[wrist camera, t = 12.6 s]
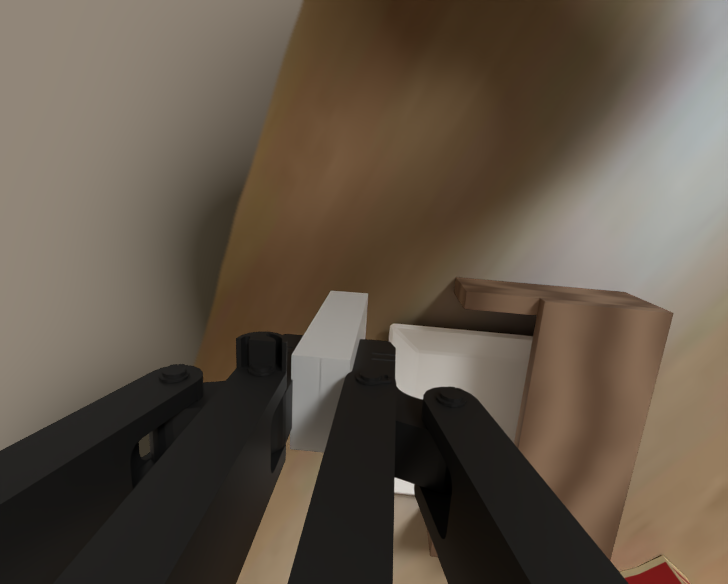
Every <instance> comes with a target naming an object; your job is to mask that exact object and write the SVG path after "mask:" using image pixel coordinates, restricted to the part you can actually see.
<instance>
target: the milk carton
mask: <svg viewBox="0 0 728 584" xmlns="http://www.w3.org/2000/svg"><path fill="white" fill-rule="evenodd" d="M620 574H621V575H622V576H623V577H624V578H625V580H626V581H627V582H628V583H629V584H690V582H689V580H688V579H687V577H686V576H685V575H684V574H683V573H681V572H680V571H679V570H678V569H677V568H676V567H675V566H674V565H673V564H672V563H671V562H670V561H669V560H668V559H667V558H665V557H664V556H663V555H662V556H660V557H658V558H656V559H654V560H651V561H649V562H647V563H645V564H643V565H641V566H639V567H637V568H633V569H629V570H625V571H621V572H620Z"/></svg>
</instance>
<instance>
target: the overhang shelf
mask: <svg viewBox="0 0 728 584" xmlns="http://www.w3.org/2000/svg"><path fill="white" fill-rule="evenodd" d="M454 293H455V295H456V296H457V298H458V300H459V301H460V303H461V304H462V306H463V308H464V309H471V310H482V311H493V312H504V313H515V314H526V315H537V317H536V323H535V328H534V334H533V340H532V345H531V351H530V356H529V362H528V368H527V373H526V379H525V384H524V390H523V395H522V401H521V407H520V412H519V418H518V423H517V429H516V434H515V440H514V444H515V445H516V447H517V448H518V449H519V450H520V452H521V453H522V454H523V455H524V456H525V458H526V459H527V460H528V461H529V463H530V464H531V465H532V466H533V467H534V469H535V470H536V471H537V472H538V473H539V475H540V476H541V477H542V478H543V480H544V481H545V482H546V483H547V484H548V486H549V487H550V488H551V489H552V491H553V492H554V493H555V494H556V495H557V497H558V498H559V499H560V500H561V502H562V503H563V504H564V505H565V506H566V508H567V509H568V510H569V511H570V513H571V514H572V515H573V516H574V517H575V519H576V520H577V521H578V522H579V524H580V525H581V526H582V527H583V528H584V530H585V531H586V532H587V533H588V535H589V536H590V537H591V538H592V539H593V541H594V542H595V543H596V544H597V545H598V547H599V548H600V549H601V550H602V552H603V553H604V554H605V555H606V556H607V558H608V559H609V560H610V559H611V555H612V551H613V547H614V544H615V540H616V536H617V532H618V528H619V524H620V520H621V516H622V512H623V508H624V504H625V501H626V497H627V493H628V489H629V485H630V481H631V477H632V473H633V469H634V465H635V461H636V457H637V454H638V450H639V446H640V442H641V438H642V434H643V430H644V426H645V422H646V418H647V414H648V411H649V407H650V403H651V399H652V395H653V391H654V387H655V383H656V379H657V375H658V371H659V368H660V364H661V360H662V356H663V352H664V348H665V344H666V340H667V336H668V332H669V328H670V325H671V321H672V317H673V313H672V312H670V311H667V310H665V309H663V308H660V307H658V306H656V305H654V304H651V303H649V302H647V301H644V300H642V299H640V298H637V297H635V296H633V295H630V294H628V293H626V292H618V291H606V290H595V289H583V288H572V287H561V286H549V285H538V284H527V283H515V282H504V281H492V280H481V279H470V278H458V277H456V280H455V288H454ZM427 532H428V529H427ZM428 541H429V550H430V556H433V557H438V555H437V553H436V550H435V547H434V545H433V542H432V540H431V537H430V534H429V532H428Z"/></svg>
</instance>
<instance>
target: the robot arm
mask: <svg viewBox="0 0 728 584" xmlns="http://www.w3.org/2000/svg"><path fill="white" fill-rule="evenodd" d="M367 306H368V293H356V292H343V291H330V293H329V295H328V296H327V298H326V299H325V301H324V303H323V304H322V306H321V308H320V309H319V311H318V313H317V314H316V316H315V317H314V319H313V321H312V322H311V324H310V326H309V327H308V329H307V331H306V332H305V334H304V335H292V334H284V335H281V334H278V333H273V332H253V333H247V334H244V335H241V336H239V337H238V338H236V358H237V368H236V369H235V371H234V372H233V373H232V374H231V375H230V376H229V378H228V379H227V380H226V381H219V382H205V383H203V372H202V371H201V370H200V369H199V368H197V367H194V366H188V365H184V364H179V365H177V364H176V365H170V366H168V367H163V368H160V369H158V370H155V371H153V372H151V373H149V374H147V375H145V376H143V377H141V378H139V379H137V380H135V381H133V382H132V383H130V384H128V385H126V386H124V387H122V388H120V389H118V390H116V391H114V392H112V393H110V394H109V395H107V396H105V397H103V398H101V399H99V400H97V401H95V402H93V403H92V404H89V405H87V406H86V407H84V408H82V409H80V410H78V411H76V412H74V413H72V414H70V415H68V416H66V417H64V418H62V419H61V420H59V421H57V422H55V423H53V424H51V425H49V426H47V427H45V428H43V429H41V430H39V431H37V432H36V433H34V434H32V435H30V436H28V437H26V438H24V439H22V440H20V441H18V442H16V443H15V444H13V445H11V446H9V447H7V448H5V449H3V450H1V451H0V584H236V582H237V580H238V577H239V575H240V572H241V570H242V567H243V565H244V562H245V560H246V557H247V555H248V552H249V550H250V547H251V545H252V542H253V540H254V537H255V535H256V532H257V530H258V527H259V525H260V522H261V520H262V517H263V515H264V512H265V510H266V507H267V505H268V502H269V500H270V497H271V495H272V492H273V490H274V487H275V485H276V482H277V480H278V477H279V475H280V472H281V470H282V467H283V465H284V462H285V457H286V441H287V439H288V436H289V434H290V449H294V450H304V451H314V452H324V455H323V458H322V462H321V466H320V469H319V473H318V476H317V480H316V484H315V487H314V491H313V494H312V498H311V502H310V505H309V509H308V512H307V516H306V519H305V523H304V527H303V530H302V534H301V537H300V541H299V545H298V548H297V552H296V555H295V559H294V563H293V566H292V570H291V573H290V577H289V581H288V584H393V531H394V479H395V478H398V479H401V480H404V481H407V482H410V483H412V484H414V494H415V497H416V500H417V503H418V505H419V508H420V511H421V513H422V516H423V518H424V521H425V524H426V526H427V529H428V532H429V534H430V537H431V540H432V542H433V545H434V547H435V550H436V553H437V555H438V558H439V561H440V563H441V566H442V568H443V571H444V574H445V576H446V579H447V582H448V584H629V583H628V582H627V581H626V580H625V578H624V577H623V576H622V575H621V574H620V572H619V571H618V570H617V569H616V567H615V566H614V565H613V564H612V563H611V561H610V560H609V559H608V558H607V556H606V555H605V554H604V553H603V552H602V550H601V549H600V548H599V547H598V545H597V544H596V543H595V542H594V541H593V539H592V538H591V537H590V536H589V535H588V533H587V532H586V531H585V530H584V528H583V527H582V526H581V525H580V524H579V522H578V521H577V520H576V519H575V517H574V516H573V515H572V514H571V513H570V511H569V510H568V509H567V508H566V506H565V505H564V504H563V503H562V502H561V500H560V499H559V498H558V497H557V495H556V494H555V493H554V492H553V491H552V489H551V488H550V487H549V486H548V484H547V483H546V482H545V481H544V480H543V478H542V477H541V476H540V475H539V473H538V472H537V471H536V470H535V469H534V467H533V466H532V465H531V464H530V463H529V461H528V460H527V459H526V458H525V456H524V455H523V454H522V453H521V452H520V450H519V449H518V448H517V447H516V445H515V444H514V443H513V442H512V441H511V439H510V438H509V437H508V436H507V434H506V433H505V432H504V431H503V430H502V428H501V427H500V426H499V425H498V423H497V422H496V421H495V420H494V419H493V417H492V416H491V415H490V414H489V412H488V411H487V410H486V409H485V408H484V406H483V405H482V404H481V403H480V401H479V400H478V399H477V398H476V397H474V396H473V395H472V394H470V393H468V392H466V391H464V390H462V389H460V388H455V387H451V386H449V387H435V388H432V389H429V390H427V391H426V392H425V394H424V395H423V399H419V398H416V397H413V396H410V395H408V394H406V393H404V392H402V391H401V390H399V389H398V387H397V386H396V380H395V360H396V348H395V347H394V346H393V344H392V343H391V342H390V341H378V340H366V339H365V337H366V322H367ZM147 434H149V440H150V452H149V453H148V454H147V455H145V456H144V457H140V454H139V443H138V442H139V441H140V440H141V439H142V438H143V437H144V436H146V435H147Z"/></svg>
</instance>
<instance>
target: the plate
mask: <svg viewBox="0 0 728 584" xmlns="http://www.w3.org/2000/svg"><path fill="white" fill-rule="evenodd" d="M532 340H533V336H525V335H515V334H504V333H493V332H482V331H471V330H460V329H449V328H438V327H427V326H416V325H405V324H395V323H393V324H392V325H391V326H390V332H389V341H390V342H391V343H392V344H393V346H394V347H395V348H396V360H395V380H396V386H397V387H398V389H399V390H401V391H402V392H404V393H406V394H408V395H410V396H413V397H416V398H419V399H423V395H424V394H425V392H426V391H427V390H429V389H432V388H435V387H449V386H451V387H455V388H460V389H462V390H464V391H466V392H468V393H470V394H472V395H473V396H474V397H476V398H477V399H478V400H479V401H480V403H481V404H482V405H483V406H484V408H485V409H486V410H487V411H488V412H489V414H490V415H491V416H492V417H493V419H494V420H495V421H496V422H497V423H498V425H499V426H500V427H501V428H502V430H503V431H504V432H505V433H506V434H507V436H508V437H509V438H510V439H511V441H512V442H513V443H514V440H515V434H516V429H517V423H518V418H519V412H520V407H521V401H522V395H523V390H524V384H525V379H526V373H527V368H528V362H529V356H530V351H531V345H532ZM394 493H398V494H407V495H415V494H414V484H412V483H410V482H407V481H404V480H401V479H398V478H395V479H394Z"/></svg>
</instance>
